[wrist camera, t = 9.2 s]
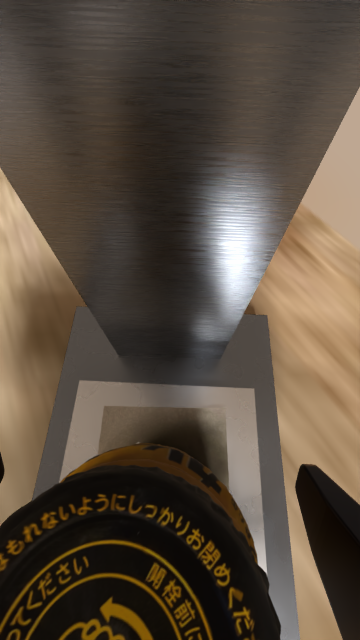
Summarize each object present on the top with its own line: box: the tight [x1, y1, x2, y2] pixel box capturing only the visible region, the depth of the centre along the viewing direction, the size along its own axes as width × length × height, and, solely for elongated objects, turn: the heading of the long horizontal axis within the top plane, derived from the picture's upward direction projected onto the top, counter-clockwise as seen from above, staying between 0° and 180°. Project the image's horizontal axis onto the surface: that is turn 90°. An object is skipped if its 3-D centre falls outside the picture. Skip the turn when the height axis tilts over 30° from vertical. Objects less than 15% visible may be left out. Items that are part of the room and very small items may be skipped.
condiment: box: [0, 406, 281, 640], centre depth 9 cm, size 7×8×12 cm
